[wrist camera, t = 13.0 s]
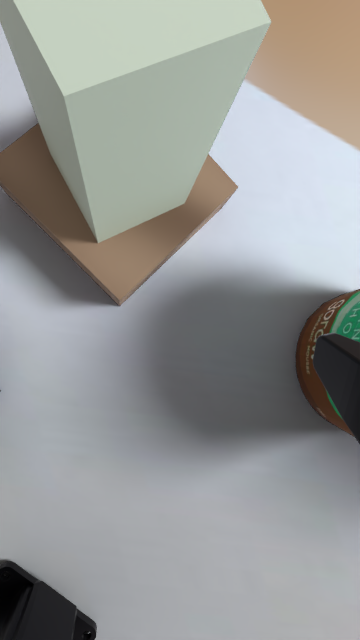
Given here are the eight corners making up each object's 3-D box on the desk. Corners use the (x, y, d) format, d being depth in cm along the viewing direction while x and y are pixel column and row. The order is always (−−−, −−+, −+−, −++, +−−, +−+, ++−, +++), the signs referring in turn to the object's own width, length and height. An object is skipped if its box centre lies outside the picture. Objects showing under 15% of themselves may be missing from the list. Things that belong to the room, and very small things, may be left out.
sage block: (98, 243, 16) (63, 95, 6) (49, 152, 16) (-63, -144, 6) (184, 203, 17) (271, 21, 7) (139, 117, 17) (167, -189, 7)
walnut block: (119, 306, 20) (119, 300, 16) (9, 196, 19) (-16, 165, 15) (218, 211, 21) (238, 187, 18) (120, 105, 20) (121, 57, 17)
